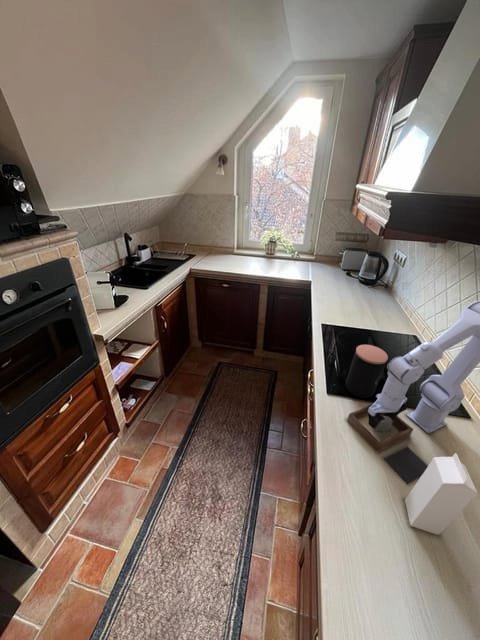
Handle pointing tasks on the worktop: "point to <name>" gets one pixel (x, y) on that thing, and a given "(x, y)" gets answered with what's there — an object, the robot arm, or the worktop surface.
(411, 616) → the worktop surface
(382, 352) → the coffee jar
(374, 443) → the brown wooden tray
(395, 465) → the mat
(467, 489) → the milk
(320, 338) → the worktop surface
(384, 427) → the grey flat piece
